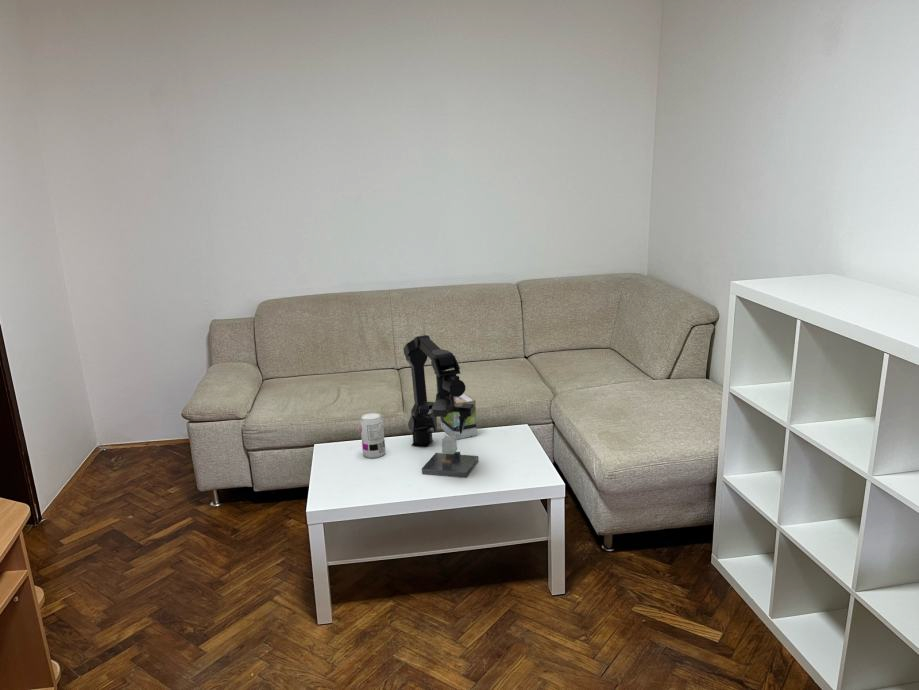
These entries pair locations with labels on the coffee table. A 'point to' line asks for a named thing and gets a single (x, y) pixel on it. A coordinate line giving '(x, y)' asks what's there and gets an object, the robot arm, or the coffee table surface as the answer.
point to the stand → (450, 465)
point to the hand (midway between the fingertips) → (448, 432)
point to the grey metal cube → (449, 445)
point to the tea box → (453, 423)
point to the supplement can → (372, 435)
